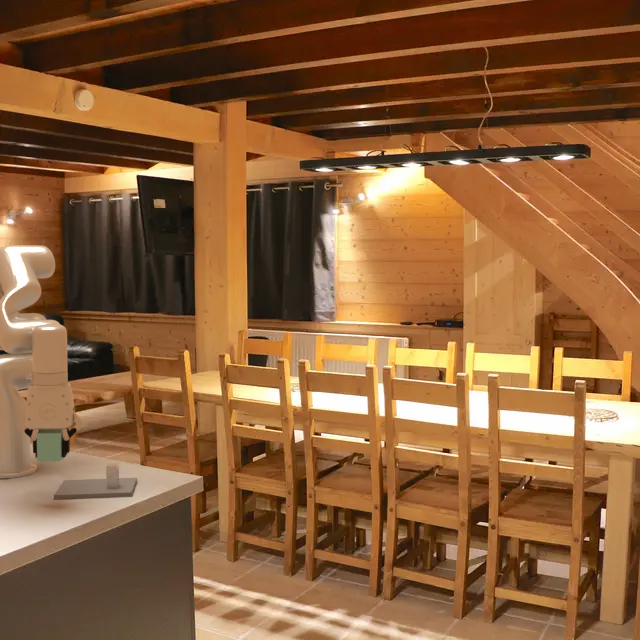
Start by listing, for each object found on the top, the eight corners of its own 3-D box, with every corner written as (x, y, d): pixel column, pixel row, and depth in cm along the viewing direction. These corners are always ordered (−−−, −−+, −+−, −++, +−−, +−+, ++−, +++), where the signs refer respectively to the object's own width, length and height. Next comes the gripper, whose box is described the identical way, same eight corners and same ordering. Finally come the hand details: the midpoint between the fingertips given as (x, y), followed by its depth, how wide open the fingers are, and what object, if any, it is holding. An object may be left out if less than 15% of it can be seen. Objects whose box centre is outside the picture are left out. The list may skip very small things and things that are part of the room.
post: (106, 488, 185) (106, 466, 185) (108, 485, 188) (107, 463, 187) (117, 488, 186) (117, 466, 185) (119, 484, 188) (118, 463, 188)
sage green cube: (37, 461, 173) (36, 433, 172) (42, 454, 178) (42, 427, 178) (60, 461, 174) (60, 433, 173) (65, 454, 179) (65, 427, 178)
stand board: (53, 499, 180) (53, 495, 180) (64, 484, 192) (63, 480, 192) (131, 496, 183) (131, 492, 182) (137, 481, 194) (136, 477, 194)
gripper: (6, 382, 169) (8, 461, 171) (86, 382, 171) (86, 460, 174) (15, 375, 177) (17, 451, 179) (91, 375, 179) (92, 450, 181)
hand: (51, 455), depth 176 cm, fingers closed on sage green cube, 5 cm apart
